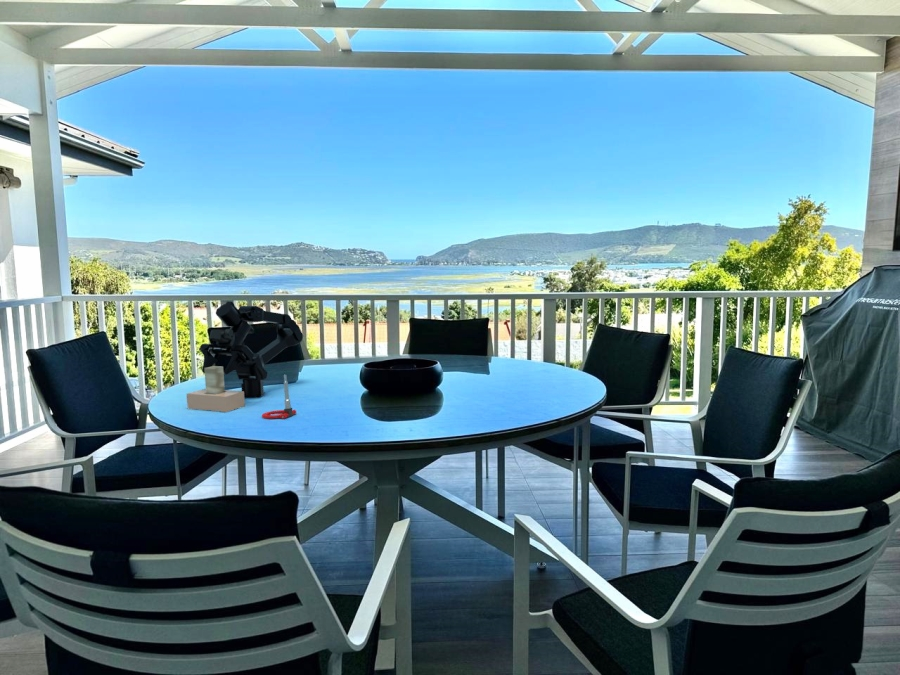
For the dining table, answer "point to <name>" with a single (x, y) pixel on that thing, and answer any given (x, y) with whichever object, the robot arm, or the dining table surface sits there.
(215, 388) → the birch bar
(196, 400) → the flat beige box
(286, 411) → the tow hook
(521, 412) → the dining table surface
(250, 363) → the robot arm
